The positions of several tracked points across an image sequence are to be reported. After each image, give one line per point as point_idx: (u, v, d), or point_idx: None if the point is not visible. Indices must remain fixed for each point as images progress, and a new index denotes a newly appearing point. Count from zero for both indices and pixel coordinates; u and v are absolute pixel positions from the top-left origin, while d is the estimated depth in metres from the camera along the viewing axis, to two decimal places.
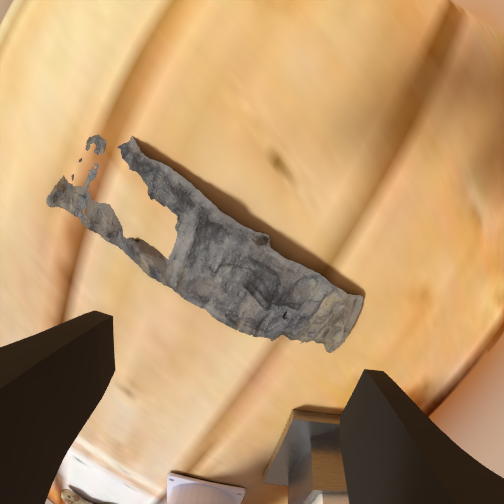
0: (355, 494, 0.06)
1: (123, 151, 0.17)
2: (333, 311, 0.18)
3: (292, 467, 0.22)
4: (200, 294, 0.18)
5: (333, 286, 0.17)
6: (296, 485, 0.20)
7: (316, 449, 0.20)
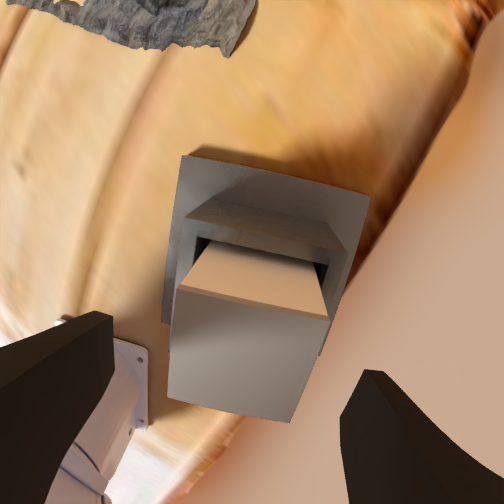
0: (355, 494, 0.06)
1: None
2: (222, 6, 0.13)
3: None
4: (99, 18, 0.14)
5: None
6: None
7: (214, 203, 0.15)
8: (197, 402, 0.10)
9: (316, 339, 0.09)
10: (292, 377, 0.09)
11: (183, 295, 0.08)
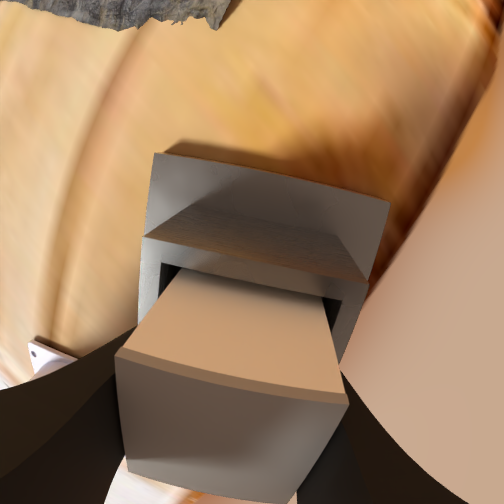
0: (301, 493, 0.06)
1: None
2: None
3: None
4: None
5: None
6: None
7: (192, 212, 0.12)
8: (166, 481, 0.06)
9: (326, 425, 0.05)
10: (291, 465, 0.06)
11: (125, 365, 0.05)
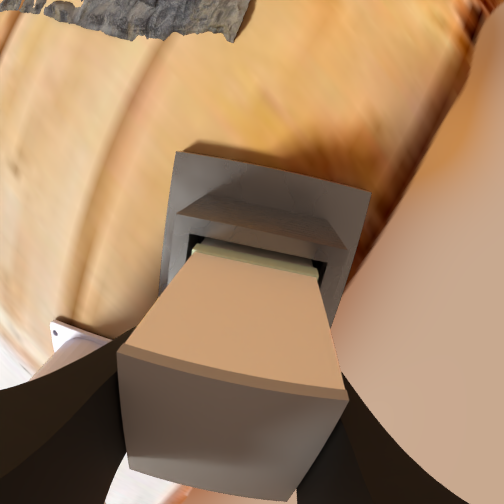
0: (302, 493, 0.06)
1: None
2: None
3: None
4: (96, 14, 0.13)
5: None
6: None
7: (209, 199, 0.15)
8: (167, 478, 0.06)
9: (326, 422, 0.05)
10: (291, 461, 0.06)
11: (127, 362, 0.05)
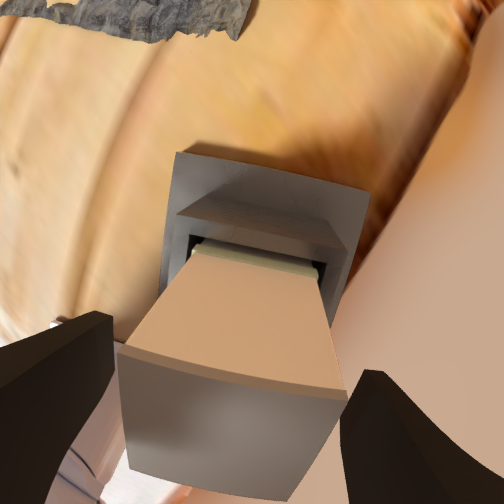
0: (355, 494, 0.06)
1: None
2: None
3: None
4: (97, 14, 0.13)
5: None
6: None
7: (209, 200, 0.15)
8: (167, 478, 0.06)
9: (325, 422, 0.05)
10: (291, 461, 0.06)
11: (128, 362, 0.05)
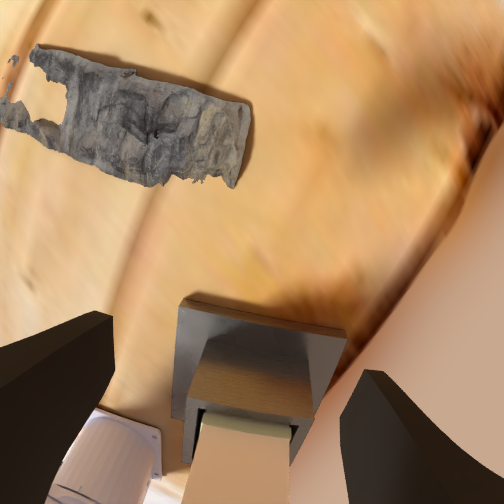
0: (355, 494, 0.06)
1: (30, 56, 0.14)
2: (216, 127, 0.15)
3: None
4: (85, 147, 0.16)
5: (205, 96, 0.15)
6: None
7: (210, 353, 0.17)
8: None
9: None
10: None
11: None
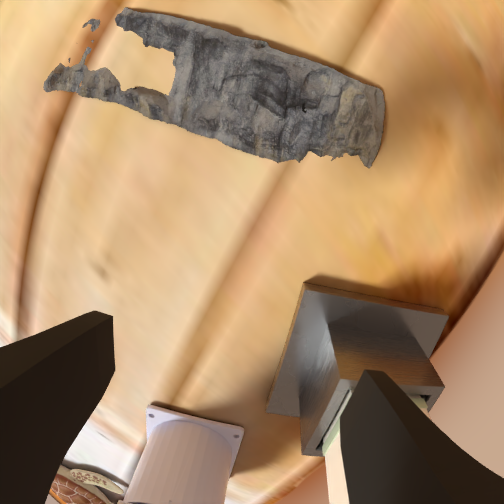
0: (355, 494, 0.06)
1: (116, 20, 0.14)
2: (356, 107, 0.15)
3: (304, 381, 0.20)
4: (207, 117, 0.16)
5: (346, 77, 0.14)
6: (312, 398, 0.17)
7: (337, 336, 0.17)
8: None
9: None
10: None
11: None
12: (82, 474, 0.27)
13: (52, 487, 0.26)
